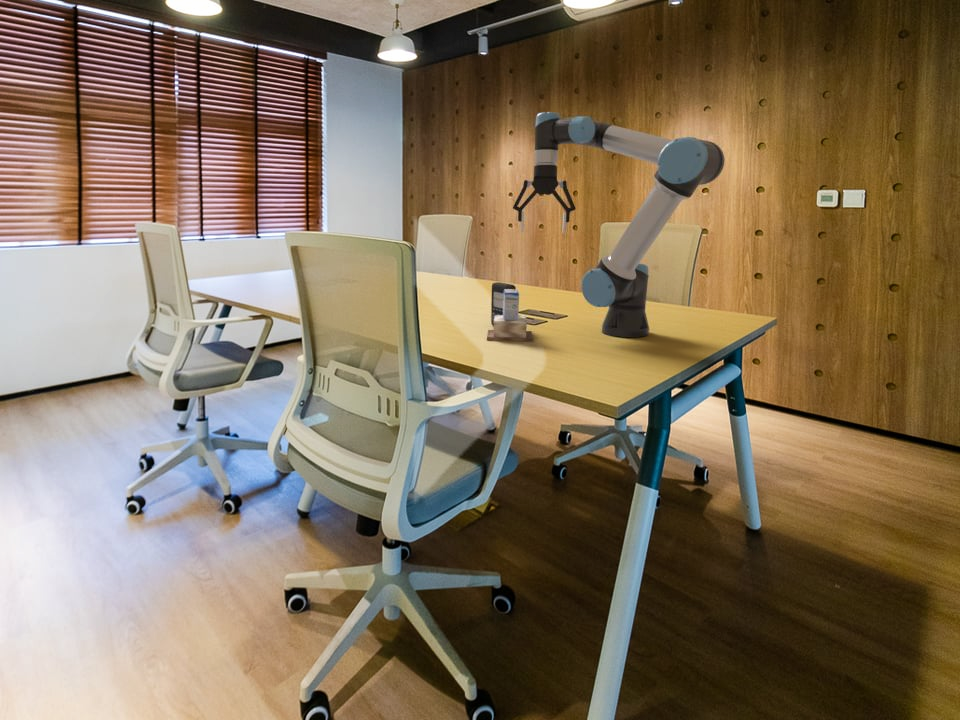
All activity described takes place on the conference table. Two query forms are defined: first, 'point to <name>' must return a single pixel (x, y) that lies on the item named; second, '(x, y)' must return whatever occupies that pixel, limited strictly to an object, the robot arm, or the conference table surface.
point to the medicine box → (511, 304)
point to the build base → (510, 330)
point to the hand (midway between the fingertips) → (543, 232)
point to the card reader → (498, 298)
